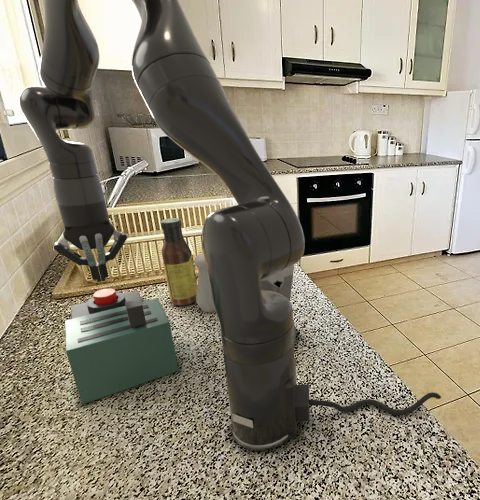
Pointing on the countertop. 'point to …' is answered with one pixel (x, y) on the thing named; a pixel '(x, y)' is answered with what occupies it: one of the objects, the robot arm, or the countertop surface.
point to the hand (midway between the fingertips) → (101, 280)
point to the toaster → (118, 350)
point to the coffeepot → (280, 284)
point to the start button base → (92, 308)
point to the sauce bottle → (178, 264)
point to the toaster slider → (135, 313)
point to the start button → (105, 296)
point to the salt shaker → (203, 286)
